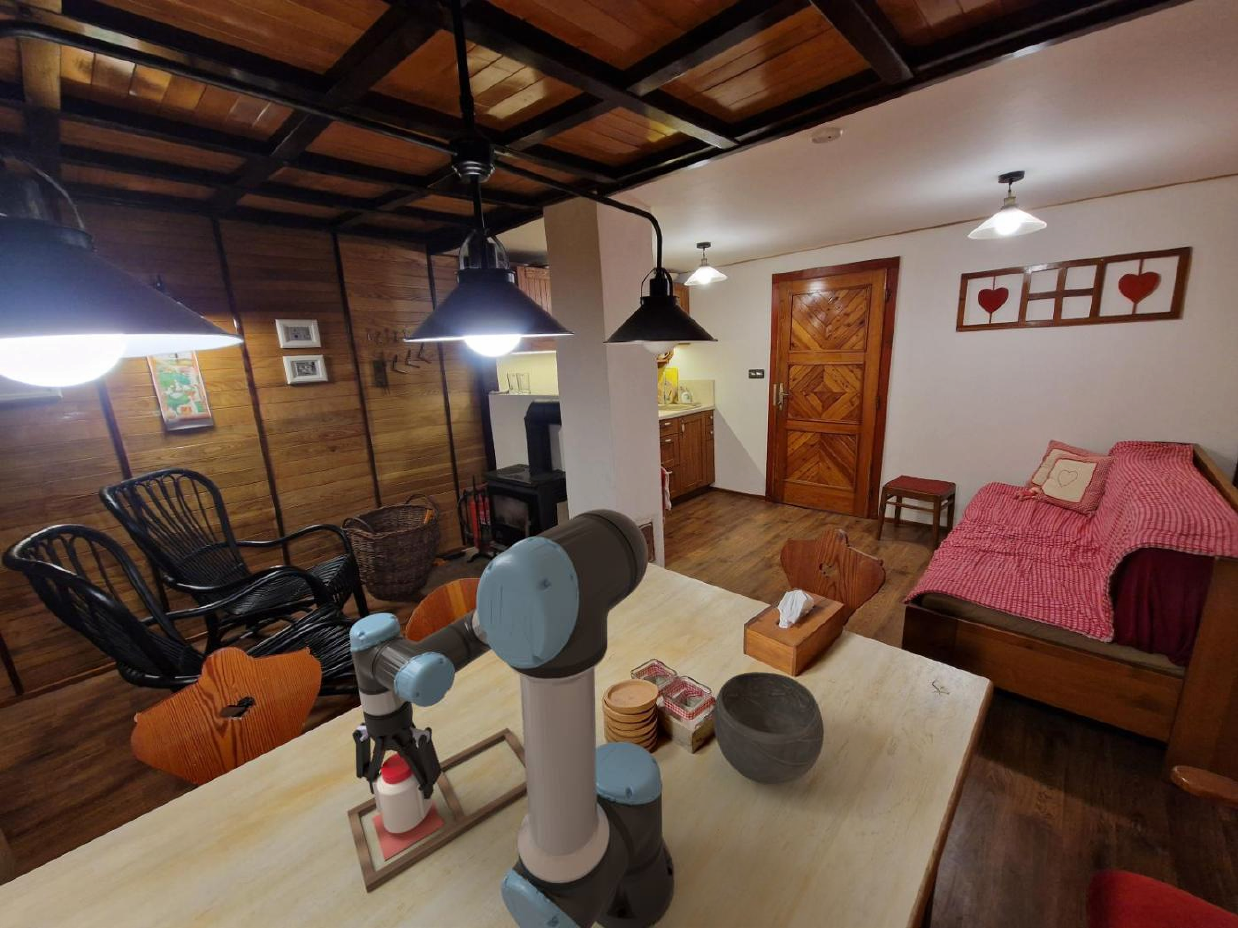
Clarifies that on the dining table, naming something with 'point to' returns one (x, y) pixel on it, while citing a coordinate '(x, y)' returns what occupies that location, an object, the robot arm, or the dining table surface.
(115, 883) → the dining table surface
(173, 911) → the dining table surface
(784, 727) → the bowl
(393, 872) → the divided wooden frame
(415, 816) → the pill bottle
